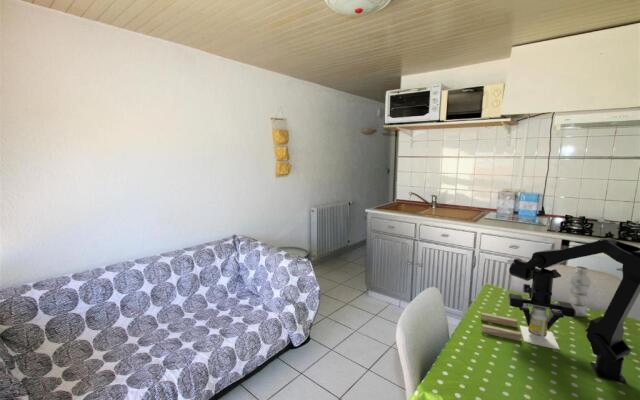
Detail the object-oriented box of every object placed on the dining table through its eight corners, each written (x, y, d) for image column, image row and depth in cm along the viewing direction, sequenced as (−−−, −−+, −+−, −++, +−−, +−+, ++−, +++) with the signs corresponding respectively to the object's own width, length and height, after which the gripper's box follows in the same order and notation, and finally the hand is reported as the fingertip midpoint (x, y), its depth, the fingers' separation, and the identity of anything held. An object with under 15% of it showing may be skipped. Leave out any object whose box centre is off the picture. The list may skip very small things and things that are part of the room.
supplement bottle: (540, 329, 111) (543, 304, 110) (549, 338, 106) (552, 312, 105) (524, 329, 112) (527, 304, 110) (533, 337, 106) (536, 311, 105)
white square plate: (559, 349, 102) (559, 348, 102) (524, 341, 106) (524, 340, 106) (551, 332, 112) (551, 331, 112) (519, 326, 116) (519, 325, 116)
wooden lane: (520, 341, 107) (521, 334, 106) (482, 332, 112) (482, 326, 112) (516, 325, 116) (517, 319, 116) (481, 318, 122) (481, 312, 121)
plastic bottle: (562, 312, 126) (567, 266, 123) (571, 309, 129) (577, 264, 126) (580, 320, 120) (587, 272, 117) (589, 316, 123) (596, 269, 120)
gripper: (568, 281, 109) (564, 322, 112) (508, 273, 118) (504, 311, 120) (578, 294, 100) (573, 338, 102) (511, 284, 108) (508, 325, 110)
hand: (537, 327), depth 108 cm, fingers closed on supplement bottle, 5 cm apart
